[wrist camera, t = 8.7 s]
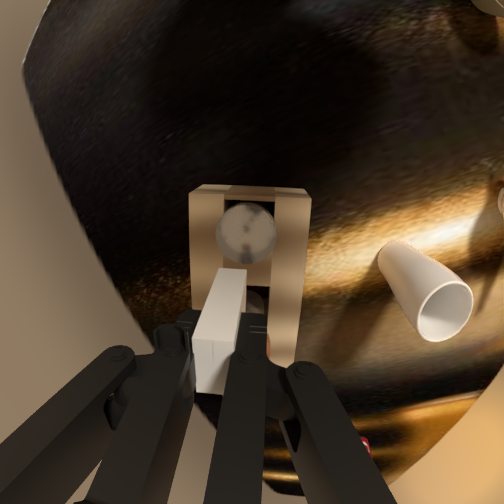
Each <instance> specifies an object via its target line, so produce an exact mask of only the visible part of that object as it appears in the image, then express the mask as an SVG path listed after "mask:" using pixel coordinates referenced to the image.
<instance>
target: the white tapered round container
mask: <svg viewBox="0 0 504 504" xmlns="http://www.w3.org/2000/svg"><path fill="white" fill-rule="evenodd" d="M471 2H472V3H473V4H474V5H475V6H476V7H477V8H478V9H479V10H481V11H482V12H485V13H487V14H490V15H494V16H498V17H504V0H471Z"/></svg>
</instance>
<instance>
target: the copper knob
mask: <svg viewBox="0 0 504 504" xmlns="http://www.w3.org/2000/svg"><path fill="white" fill-rule="evenodd" d="M245 313H262V314H264V302H263V299H262V298H261V296H260V295H259V294H257V293H256V292H254V291H252V290H246V312H245ZM267 357H268V358H270V337H269V334H268V333H267Z"/></svg>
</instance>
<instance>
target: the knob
mask: <svg viewBox="0 0 504 504" xmlns="http://www.w3.org/2000/svg"><path fill="white" fill-rule="evenodd" d="M276 239H277V231H276V224H275V221H274V219H273V217H272V215H271V214H270V213H269V211H268V208H267V206H266V205H265V203H264V202H263V201H252V200H241V201H240V202H239V203H238V204H236V205H233V206H232V207H230V208H229V209H227V210H226V211H225V212H224V214H223V215H222V217H221V218H220V220H219V222H218V224H217V227H216V241H217V244H218V247H219V249H220V250H221V252H222V253H223V254H224V255H225V256H226V257H227V258H229V259H230V260H232V261H234V262H237V263H240V264H253V263H257V262H259V261H261V260H263V259H265V258H266V257H267V256H268V255H269V254H270V253H271V252H272V250H273V248H274V246H275V244H276Z"/></svg>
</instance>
